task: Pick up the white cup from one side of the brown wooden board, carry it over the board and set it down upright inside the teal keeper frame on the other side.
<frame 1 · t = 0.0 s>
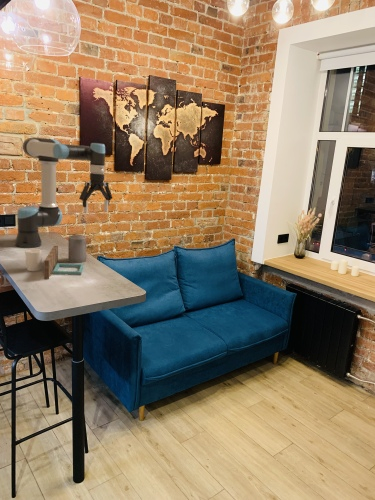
hand: (96, 212, 204), 28 cm above the table, tool pointing down, fingers open, 13 cm apart
keeper frame: (68, 270, 191), on the table
brown wooden board: (51, 269, 190), on the table
white cup: (34, 269, 188), on the table
pillar candle: (77, 260, 209), on the table
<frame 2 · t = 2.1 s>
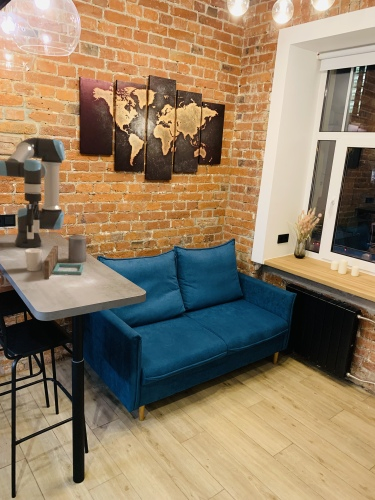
hand: (33, 235, 183), 18 cm above the table, tool pointing down, fingers open, 13 cm apart
nothing on the table moved.
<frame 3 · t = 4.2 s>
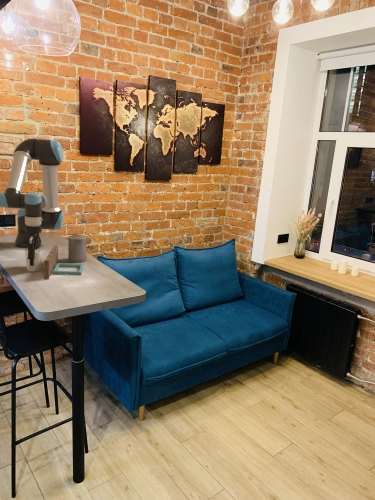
hand: (34, 268, 188), 0 cm above the table, tool pointing down, fingers closed on white cup, 7 cm apart
white cup: (34, 269, 188), on the table, touching gripper
everything else where it was.
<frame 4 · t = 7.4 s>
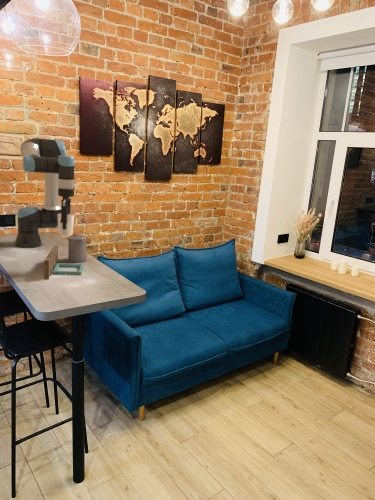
hand: (65, 233, 186), 19 cm above the table, tool pointing down, fingers closed on white cup, 7 cm apart
white cup: (65, 234, 186), point 19 cm above the table, touching gripper
everything else where it was.
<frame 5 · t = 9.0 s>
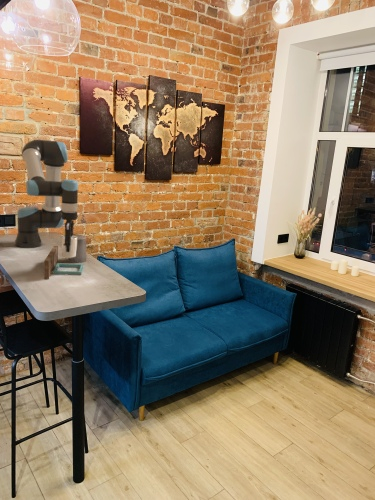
hand: (69, 255, 189), 8 cm above the table, tool pointing down, fingers closed on white cup, 7 cm apart
white cup: (69, 256, 189), point 8 cm above the table, touching gripper
everything else where it was.
when the fingers open (3 cm above the table, at t = 10.5 s): white cup drops 2 cm, resting in keeper frame.
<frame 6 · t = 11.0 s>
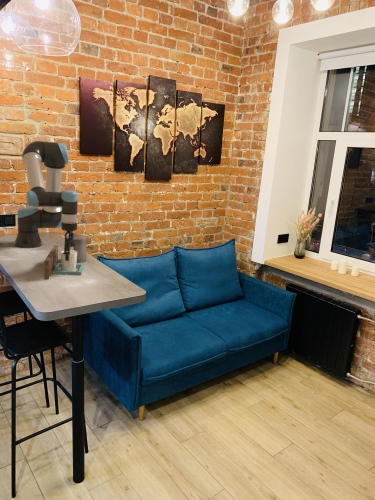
hand: (68, 262, 190), 4 cm above the table, tool pointing down, fingers open, 13 cm apart
white cup: (68, 270, 191), resting in keeper frame
everything else where it was.
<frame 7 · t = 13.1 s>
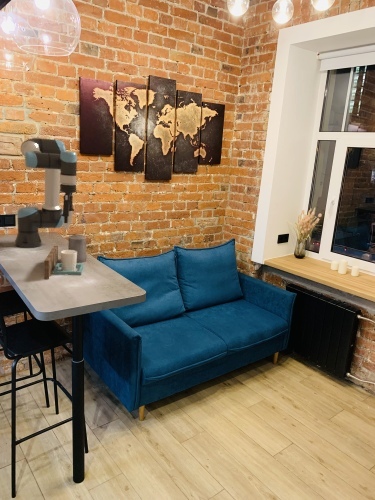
hand: (67, 226, 186), 23 cm above the table, tool pointing down, fingers open, 13 cm apart
nothing on the table moved.
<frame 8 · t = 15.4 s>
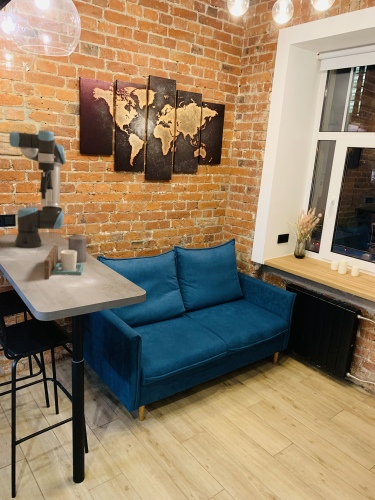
hand: (46, 203, 195), 32 cm above the table, tool pointing down, fingers open, 13 cm apart
nothing on the table moved.
at the end: white cup 0.1 cm off-centre on the keeper frame, point 0.0 cm above the keeper frame's base; white cup tilted 0°; the gripper is holding nothing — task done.
